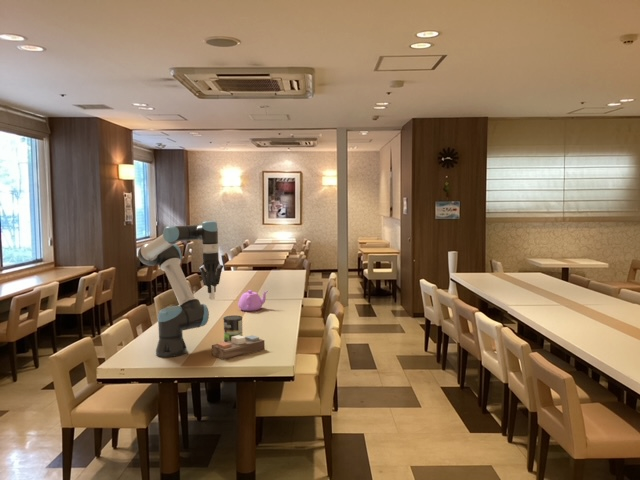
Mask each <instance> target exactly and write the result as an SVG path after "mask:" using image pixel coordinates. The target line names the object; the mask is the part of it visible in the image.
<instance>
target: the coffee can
mask: <svg viewBox="0 0 640 480" xmlns="http://www.w3.org/2000/svg"><path fill="white" fill-rule="evenodd" d="M237 335H240V336H243V337H244V334H243V316H242V315H226V316H224V317H223V342H228V341H231V337H232V336H237Z"/></svg>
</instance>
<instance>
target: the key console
mask: <svg viewBox="0 0 640 480" xmlns="http://www.w3.org/2000/svg"><path fill="white" fill-rule="evenodd" d="M227 343H230V344H231V347H228V348H224V349H223V348H220V347H218V346H217V343H215V344H211V355H212V356H214V357H215V358H216V357H217V358H218V359H220V360H224V361H226V360H232V359H235V358H238V357H243V356H246V355H250V354H254V353H257V352H262V351H265V347H266V346H265V340H264V339H261V338H259V340H257V341H253V342H251V341H248V340H245V343H244V344H239V345H237V344H234V343H231V341H228V342H227Z"/></svg>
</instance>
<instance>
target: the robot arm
mask: <svg viewBox="0 0 640 480" xmlns="http://www.w3.org/2000/svg"><path fill="white" fill-rule="evenodd" d="M218 233H219V229H218V223H217V221H212V220H210V221H209V220H208V221H203V222H202V223H201V224H191V225H171V226H166V227H164V228H163V232H162V234H161V235H159V236H158V237H156V238H155V239H154V240H152V241H150V242H149V243H148V242H147V243H144V244H143V245H141V246H140V247H139V249H138V251H137V258H138V259H139V261H140V262H141V264H143V265H146V266H152V267H154V266H159V268H160V270H161V271H163V272H164V273H165V276H166V277H167V280H168V282H169V284H170V286H171V289H172V291H173V293H174V295H175V297H176V300H177V302H178V304H179V305H170V306H167V307H163V308H162V309H160V310H159V311H158V315H157V322H158V327H157V328H158V341H157V346H156V348H155V355H156V357H161V358H173V357H179V356H182V355H184V354H186V353H187V351H188V349H187V344H186V342H185V340H184V337H183V331H187V330H192V329H197V328H198V329H199V328H201V327H204V326H205V325H207V323H208V322H209V315H210V311H209V308H208V306H207V304H204V303H201V302H200V300H199V299H198V298H195V296H194V294H193V292H192V289H191V287H190V285H189V282H188V281H187V278H186V276H185V274H184V272H183V269H182V267H181V265H180V264H181V263H182V258H183V255H182V251H181V248H180V246H179V245H178V243H179V242H186V241H187V242H188V241H202V252H203V253H202V260H203V262H202V265H201V266H199V267H198V271H200V274H201V280H202V284H203V285H204V286H205V287H207V293H208V296H209V297H208V299H209V300H212V301H213V300H215V297H216V296H215V295H216V294H215V293H216V291H217V290H216V289H217V285H219V284H220V282H221V275H222V270H223V268H224V265H222V264H220V262H219V253H218V251H219V242H218V241H219V237H218V235H219V234H218Z"/></svg>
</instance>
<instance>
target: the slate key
mask: <svg viewBox="0 0 640 480" xmlns="http://www.w3.org/2000/svg"><path fill="white" fill-rule="evenodd" d="M244 337H245V340H248V341H251V342H253V341H257V340H259V339H260V337H259V336H256V335H253V334H252V335H247V336H244Z"/></svg>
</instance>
